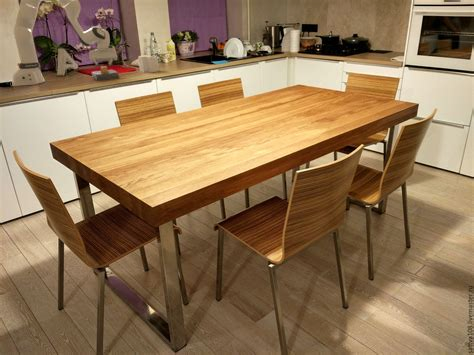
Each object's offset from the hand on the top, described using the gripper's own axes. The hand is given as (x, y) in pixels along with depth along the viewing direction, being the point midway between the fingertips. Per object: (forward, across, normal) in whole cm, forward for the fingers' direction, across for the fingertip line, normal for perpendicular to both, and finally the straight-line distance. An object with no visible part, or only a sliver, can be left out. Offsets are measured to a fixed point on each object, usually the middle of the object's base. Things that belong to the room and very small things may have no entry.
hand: (103, 64), depth 294 cm
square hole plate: (+6, 0, +7) cm, 10 cm away
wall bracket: (-17, -36, +32) cm, 51 cm away
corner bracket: (-8, +31, +22) cm, 39 cm away
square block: (+6, 0, +7) cm, 10 cm away
